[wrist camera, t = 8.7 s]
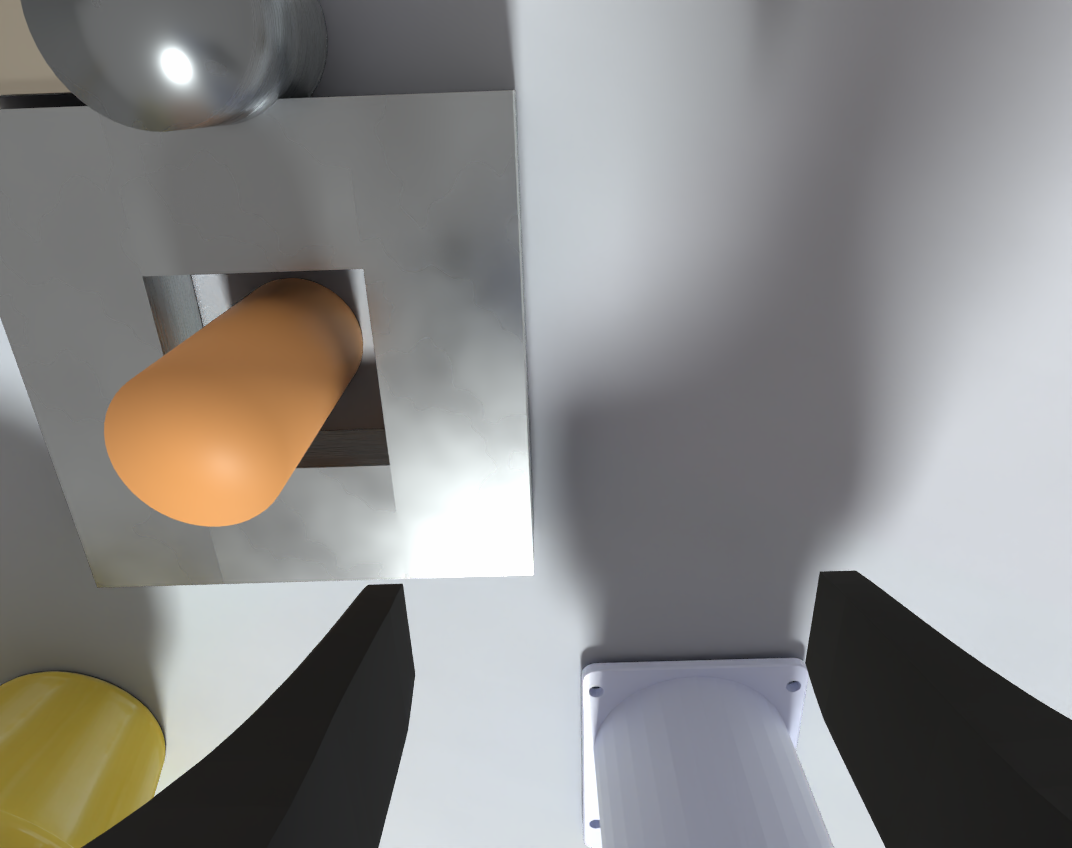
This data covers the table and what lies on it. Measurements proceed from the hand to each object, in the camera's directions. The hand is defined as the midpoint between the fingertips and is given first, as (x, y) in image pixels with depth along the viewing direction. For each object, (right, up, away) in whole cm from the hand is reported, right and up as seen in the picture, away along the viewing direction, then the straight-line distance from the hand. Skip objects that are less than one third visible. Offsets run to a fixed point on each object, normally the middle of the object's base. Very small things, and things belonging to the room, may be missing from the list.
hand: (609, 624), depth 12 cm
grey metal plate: (-12, +7, +8) cm, 16 cm away
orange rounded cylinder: (-8, +6, +8) cm, 13 cm away
